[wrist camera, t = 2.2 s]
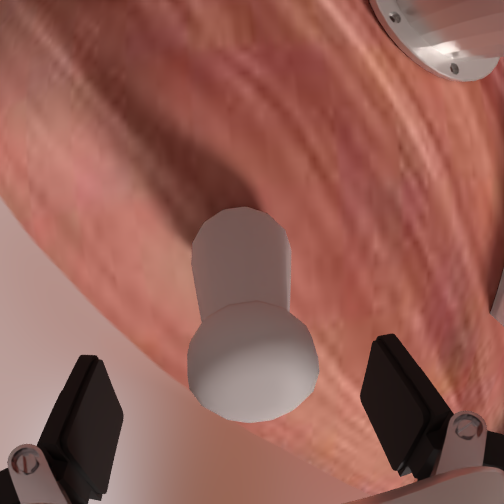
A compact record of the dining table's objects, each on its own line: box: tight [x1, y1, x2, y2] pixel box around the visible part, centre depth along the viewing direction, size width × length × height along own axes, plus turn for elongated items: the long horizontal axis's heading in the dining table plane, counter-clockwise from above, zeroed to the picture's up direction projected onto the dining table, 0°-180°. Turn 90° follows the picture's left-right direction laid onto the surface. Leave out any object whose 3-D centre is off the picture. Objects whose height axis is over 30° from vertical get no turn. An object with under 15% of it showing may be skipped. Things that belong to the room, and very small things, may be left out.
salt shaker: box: [187, 206, 319, 423], centre depth 15 cm, size 6×6×13 cm
